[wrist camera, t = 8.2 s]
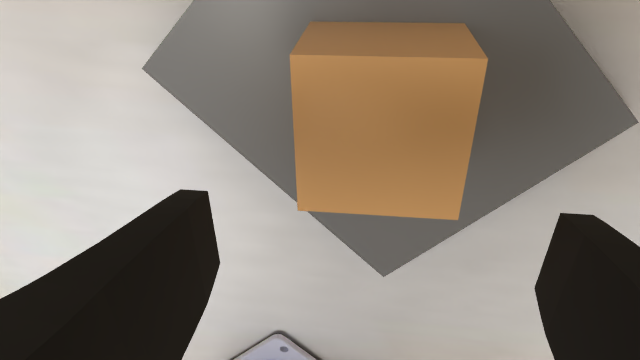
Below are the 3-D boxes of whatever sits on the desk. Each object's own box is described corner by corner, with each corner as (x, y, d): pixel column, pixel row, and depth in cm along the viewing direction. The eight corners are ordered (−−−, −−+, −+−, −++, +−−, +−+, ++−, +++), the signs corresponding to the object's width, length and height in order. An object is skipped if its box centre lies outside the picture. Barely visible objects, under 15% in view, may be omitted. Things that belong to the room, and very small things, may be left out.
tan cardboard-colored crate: (464, 23, 15) (487, 58, 11) (444, 159, 18) (458, 220, 14) (310, 21, 15) (289, 54, 12) (313, 153, 18) (297, 210, 15)
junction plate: (625, 111, 17) (677, 156, 14) (383, 262, 22) (383, 318, 19) (375, -229, 12) (373, -270, 10) (153, 61, 18) (107, 91, 15)
